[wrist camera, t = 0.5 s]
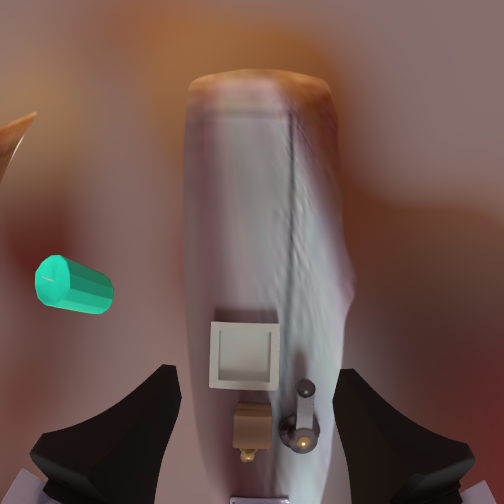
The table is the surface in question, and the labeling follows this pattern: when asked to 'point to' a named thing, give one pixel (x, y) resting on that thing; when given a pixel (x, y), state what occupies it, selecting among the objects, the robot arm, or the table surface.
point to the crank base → (249, 454)
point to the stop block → (252, 426)
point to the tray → (244, 356)
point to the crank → (303, 419)
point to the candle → (72, 286)
